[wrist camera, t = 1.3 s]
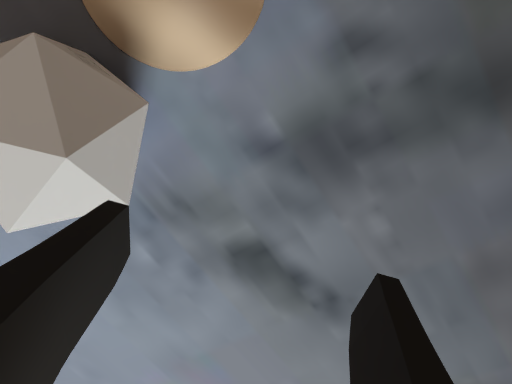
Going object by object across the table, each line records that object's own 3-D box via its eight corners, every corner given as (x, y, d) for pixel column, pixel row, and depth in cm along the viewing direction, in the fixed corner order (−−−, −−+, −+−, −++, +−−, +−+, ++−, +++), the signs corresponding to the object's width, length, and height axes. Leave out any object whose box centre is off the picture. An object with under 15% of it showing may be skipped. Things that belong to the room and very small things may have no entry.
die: (183, 53, 19) (-27, -36, 11) (188, 217, 20) (-9, 253, 11) (80, 76, 23) (-135, 22, 15) (86, 212, 24) (-119, 237, 15)
